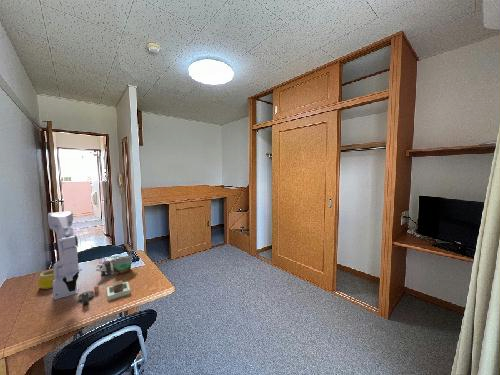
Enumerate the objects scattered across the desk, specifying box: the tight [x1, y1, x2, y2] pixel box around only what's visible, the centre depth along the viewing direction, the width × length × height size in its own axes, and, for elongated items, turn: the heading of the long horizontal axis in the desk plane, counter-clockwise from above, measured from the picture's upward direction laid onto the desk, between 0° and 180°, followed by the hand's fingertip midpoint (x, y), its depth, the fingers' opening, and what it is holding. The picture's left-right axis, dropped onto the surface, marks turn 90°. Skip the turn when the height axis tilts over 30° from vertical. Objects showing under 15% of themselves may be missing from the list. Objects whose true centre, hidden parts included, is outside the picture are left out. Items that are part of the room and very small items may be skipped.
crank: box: [77, 290, 95, 306], centre depth 109 cm, size 12×6×5 cm, turn 36°
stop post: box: [93, 284, 100, 295], centre depth 116 cm, size 2×2×4 cm
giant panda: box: [95, 257, 117, 277], centre depth 135 cm, size 15×6×10 cm, turn 174°
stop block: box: [112, 279, 124, 293], centre depth 115 cm, size 4×4×5 cm
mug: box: [38, 265, 62, 290], centre depth 123 cm, size 13×11×12 cm
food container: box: [111, 253, 133, 276], centre depth 137 cm, size 12×6×10 cm, turn 143°
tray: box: [106, 281, 131, 301], centre depth 115 cm, size 10×10×2 cm
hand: (72, 289), depth 102 cm, fingers open, 3 cm apart
